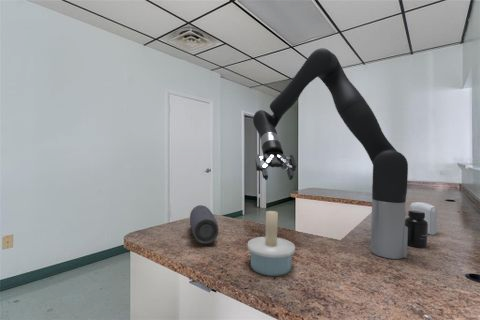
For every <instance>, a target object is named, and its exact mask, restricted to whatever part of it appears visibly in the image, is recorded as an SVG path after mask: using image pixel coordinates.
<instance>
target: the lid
mask: <svg viewBox="0 0 480 320" xmlns="http://www.w3.org/2000/svg"><path fill="white" fill-rule="evenodd" d="M278 216H279V213H278V211H276V210H275V211H274V210H267V211H266V212H265V236H257V237H254V238H251V239H249V240H248V241H247V250H248V251H249V252H250V253H251V252H252V253H254V254H256V255H259V256H263V257H270V258H282V257H287V256H290V255H292V256H293V255H294V254H295V252H296V246H295V244H294V243H293V242H292V241H290V240H287V239H286V238H282V237H278V222H279V221H278Z"/></svg>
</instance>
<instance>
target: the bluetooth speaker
mask: <svg viewBox="0 0 480 320" xmlns="http://www.w3.org/2000/svg"><path fill="white" fill-rule="evenodd" d="M189 214H190V215H189V226H190V230H191V232H192V235H193V237H194V238H195V240H196V241H197V242H198V243H199V244H202V245H203V244H205V245H207V244H210V243H212V242H214V241H215V240H216V239H217V237H218V235H219V225H218V221H217V219H216V217H215V215H214V214H213V212H212V211H211V210H210V208H209V207H207V206H205V205H202V204H200V205H196V206H195V207H193V208H192V209H191V211H190V213H189Z"/></svg>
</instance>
